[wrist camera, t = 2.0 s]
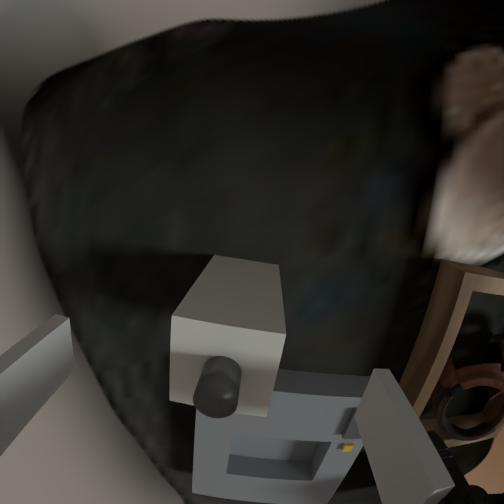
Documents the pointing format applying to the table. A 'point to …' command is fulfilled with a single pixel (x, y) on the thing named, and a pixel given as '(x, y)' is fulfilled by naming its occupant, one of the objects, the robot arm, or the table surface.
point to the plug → (228, 339)
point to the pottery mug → (467, 377)
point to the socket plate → (283, 442)
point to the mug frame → (448, 343)
